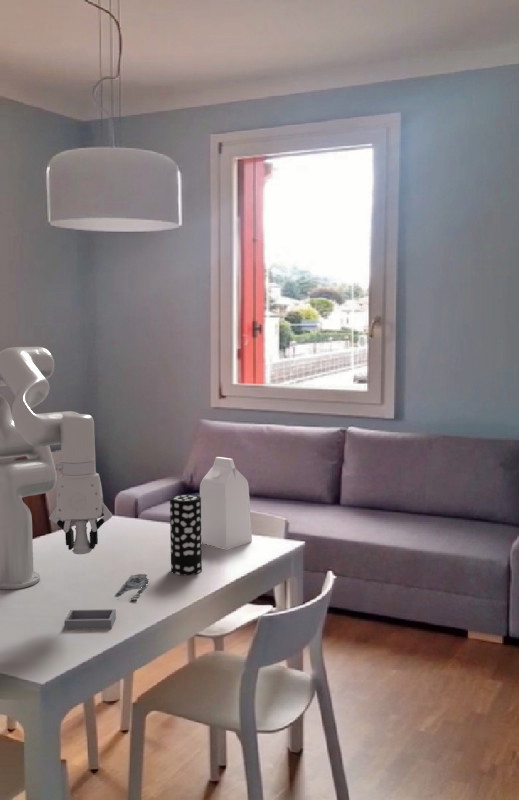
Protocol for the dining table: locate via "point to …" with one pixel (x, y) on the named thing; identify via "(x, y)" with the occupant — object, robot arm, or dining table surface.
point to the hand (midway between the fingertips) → (82, 547)
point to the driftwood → (134, 585)
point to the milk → (225, 506)
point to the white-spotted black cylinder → (185, 534)
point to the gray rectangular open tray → (90, 619)
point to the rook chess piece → (81, 538)
